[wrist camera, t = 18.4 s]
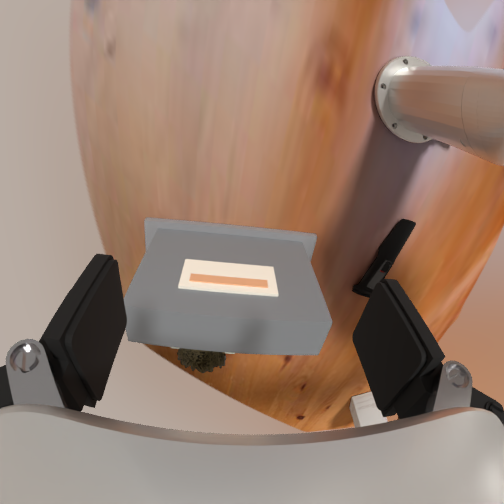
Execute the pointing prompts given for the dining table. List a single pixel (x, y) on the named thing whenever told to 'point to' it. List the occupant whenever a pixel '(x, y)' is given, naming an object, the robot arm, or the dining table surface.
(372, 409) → the supplement box
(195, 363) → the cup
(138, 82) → the dining table surface
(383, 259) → the electric trimmer
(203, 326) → the grey sign holder
